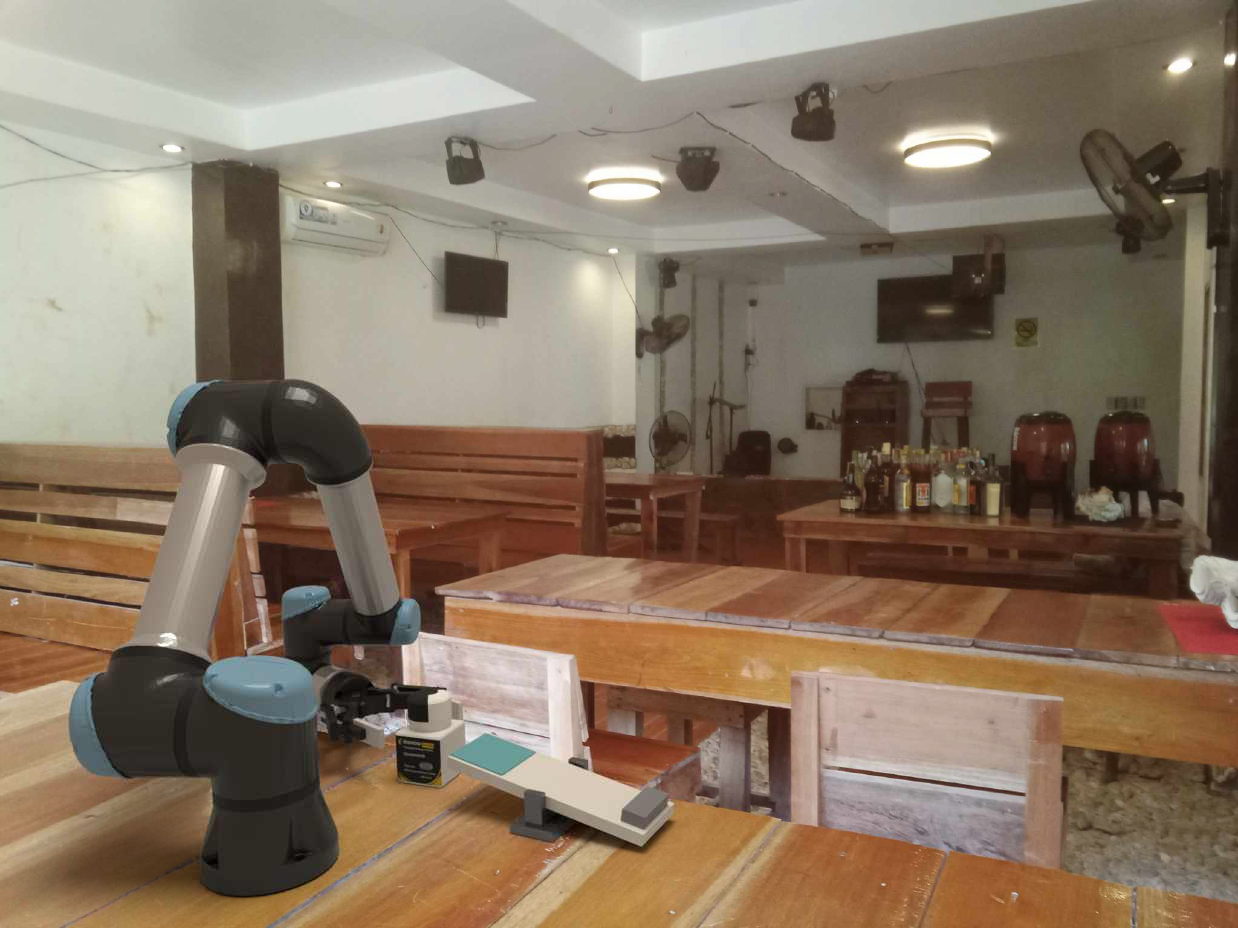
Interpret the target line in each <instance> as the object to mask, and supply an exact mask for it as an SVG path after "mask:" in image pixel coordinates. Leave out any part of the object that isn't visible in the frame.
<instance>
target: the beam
mask: <svg viewBox="0 0 1238 928" xmlns="http://www.w3.org/2000/svg"><path fill="white" fill-rule="evenodd" d="M447 768H449V769H451V770H454V771H456V772H459V774H462V775H464V776H465V777H469V778H471V779H473V780H475V781H476V780H477V781H478V782H481V783H484V784H486V785H489V786H490V787H494V788H496V789H498V790H500V791H503V792H506V793H509V794H511V795H514V796H515V797H519V798H521V799H522V800H524V792H525V791H526V790H528V789H531V790H536V791H541V792H545V797H546V808H547V809H550V810H552V811H555V812H557V813H560V814H562V815H565V816H567V817H570V818H572V819H574V820H577V822H579V823H582V824H584V825H587V826H588V827H589V826H590V827H592V828H595V829H597V830H599V831H602V832H605V833H607V834H609V835H612V836H615V837H617V838H619V839H621V840H623V841H624V840H625V841H627V842H629V843H632V844H634V845H637V846H639V847H643V846H644V845H645V844H646V843H647V842H648V841H649V840H650V838H652V837H653V836H654V835H655V833H656V832H657V831H658V830H660V828H662V826H664V824H665V823H666V822H667V821H668V820H669V819H670V818H672V816H673V815H674V807H675V803H674V802H672V801H669V797H670V793H668V792H666V791H662V790H661V789H660V790H659V789H658V788H656V787H655V788H654V787H653V786H652V787H651V786H649V785H646V786H645V787H644V788H643V789H642V790H641V789H638V788H635V787H632V786H630V785H627V784H624V783H622V782H619V781H616V780H614V779H610V778H609V777H606V776H603V775H601V774H597V773H596V772H593V771H590V770H589V769H588V770H585V769H582V768H580V767H577V766H574V765H572V764H569V763H568V762H566V761H563V760H561V759H559V758H555V757H552V756H550V755H547V754H546V753H542V752H539V751H537V750H534V749H531V748H529V747H527V746H524V745H521V744H519V743H516V742H513V741H510V740H508V739H505V738H503V737H500V736H497V735H495V734H492V733H489V732H485V733H483V734H482V735H480V736H478V737H476V738H474V739H473V740H472V741H470V742H467V743H466V745H465V746H463V747H461V748H460V749H458V750H456V751H455V752H453V753H451V754H450V756H448V760H447Z"/></svg>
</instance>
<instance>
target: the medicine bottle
mask: <svg viewBox="0 0 1238 928" xmlns="http://www.w3.org/2000/svg"><path fill="white" fill-rule="evenodd" d="M451 699H452V694H451V693H450V692H449V690H447V691H446V690H443V689H439V688H426V689H421V690H418V691H416V692H414V693H412V694H411V695H410V696H409V697H408V698H407V706H408V709H407V721H408V724H407V725H406V726H404V727H402V728H401V729H400V730H397V731H396V732H395V752H396V753H395V756H396V775H397V782H399V783H404V784H405V783H406V784H411V785H416V786H417V785H419V786H424V787H431V788H432V787H433V788H440V789H441V788H443V787H444V786H445V785H447V784H448V783H450V782H451V781H452V780H453V779H455V778H456V777H457V776H458V775H459V774H460V773H459V772H456V771H454V770H451V769H449V768H447V760H448V756H450V754H451V753H453V752H455V751H456V750H458V749H460V748H461V747H463V746H465V745H466V744H467V742H466V741H467V740H466V722H465V721H464V719H463V720H454V719H452V703H451Z"/></svg>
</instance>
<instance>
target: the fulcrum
mask: <svg viewBox="0 0 1238 928" xmlns="http://www.w3.org/2000/svg"><path fill="white" fill-rule="evenodd" d="M567 761H568V762H567V763H569V764H572V765H574V766H577V767H580V768H582V769H585V770H588V771H589V759H585V758H580V757H576V756H571V757H570V758H568V760H567ZM523 801H524V812H522V813H521V814H520V815H519V816H517V817H516V818H515V819H514V820H512V821H511V822H509V828H510V829H509V832H510V834H514V835H519V836H522V837H527V838H531V839H536V840H539V841H544V842H550V843H554V842H555V841H556V840H558V839H559V838H560V837H561V836H562V835H564V833H565V832H567V831H568V830H569V829H571V827H572V826H574V825H575V824H576V823H577V822H578V821H577V820H574V819H572V818H570V817H567V816H565V815H562V814H560V813H557V812H555V811H552V810H550V809H547V808H546V797H545V792H541V791H536V790H531V789H528V790H526V791H525V792H524V799H523Z"/></svg>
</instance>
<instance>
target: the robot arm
mask: <svg viewBox="0 0 1238 928" xmlns="http://www.w3.org/2000/svg"><path fill="white" fill-rule="evenodd" d="M166 427H167V429H168V433H167V434H166V441H167V444H168V449H169V450H170V453H171V455H172V456H173V458H174V459H175V461H174V462H175V465H176V467H177V468H178V470H179V471H180V472H181V474H182V476H181V480H180V484H179V487H178V489H177V493H176V495H175V499H174V502H173V505H172V509H171V510H170V511H171V512H170V514H169V518H168V522H167V524H166V525H167V526H166V528H165V531H164V534H163V537H162V541H161V543H160V547H159V550H158V553H157V557H156V560H155V562H154V565H153V569H152V572H151V576H150V578H149V582H148V584H147V587H146V588H147V589H146V591H145V594H144V598H143V601H142V604H141V607H140V610H139V612H138V613H139V614H138V617H137V621H136V623H135V625H134V630H133V633H132V636H131V639H129V640H128V641H126V642H124V643H122V644H120V645H119V646H117V647H115V648H114V649H113V650H112V653H111V656H110V659H109V661H108V664H107V668H106V671H98V672H96V673H93V674H90V675H88V676H87V677H86V678H84V680H82V681H81V682H80V683H79V684H78V686H77V687H76V690H75V691H74V694H73V697H72V700H71V702H70V706H69V707H70V708H69V713H68V734H69V740H70V743H71V745H72V752H73V753H74V755H75V758H76V759H77V761H78V762H79V763H80V765H81V766H82V768H84V769H85V770H86V771H87V772H89V773H90V774H92V775H95V776H99V777H106V778H107V777H110V778H112V777H113V778H121V779H122V780H133V779H136V778H137V779H139V778H142V779H143V778H148V779H149V778H151V779H152V778H153V779H155V778H157V779H158V778H168V779H169V778H171V779H172V778H176V779H179V778H183V779H184V778H185V779H187V778H190V779H191V778H192V779H193V778H194V779H195V778H196V779H197V778H198V779H199V778H201V779H204V778H205V779H210V783H211V795H212V808H211V812H210V816H209V820H208V823H207V828H206V830H205V835H204V838H203V842H202V844H201V848H200V852H199V858H198V860H199V861H198V863H199V876H200V881H201V882H202V884H203V885H204V887H206V888H208V889H209V890H211V891H213V892H215V893H218V894H222V895H228V896H237V897H242V896H243V897H247V896H258V895H259V896H260V895H267V894H272V893H277V892H282V891H286V890H288V889H291V888H294V887H297V886H300V885H302V884H305V883H307V882H309V881H311V880H313V879H315V878H317V877H318V876H320V875H321V874H323V873H324V872H326V871H327V870H328V869H329V868H331V866H332V865H333V864H334V863H335V861H337V859H338V856H339V853H340V839H339V830H338V827H337V825H336V823H335V820H334V817H333V815H332V812H331V811H330V808H329V806H328V804H327V801H326V799H325V796H324V794H323V791H322V789H321V780H320V756H319V755H320V753H319V751H320V750H319V733H318V732H319V731H318V730H319V728H318V727H319V726H318V713H319V715H320V722H321V723H323V724H325V726H326V729H327V730H326V731H327V735H328V739H329V742H337V741H338V740H339V738H340V737H342V738H343V739H342V740H343V744H347V745H349V744H351V743H353V740H355V741H359V742H362V743H365V744H367V745H370V746H372V747H373V748H376V749H379V750H382V749H384V748H386V745H385V728H384V727H381V726H379V725H376V724H373V723H371V722H369V721H366V720H363V719H364V718H365V717H368V716H372V715H378V714H393V713H395V712H396V711H397V710H399V711H400V710H408V706H407V698H408V697H409V696H410V695H411V694H412V693H414V692H416V691H418V690H421V689H426V688H439V689H443V690H446V691H448V688H447V687H441V686H428V685H427V686H426V685H424V686H423V685H411V684H405V683H404V684H402V683H400V682H393V683H391V684H390V688H380V687H379V686H374V684H373V683H372V681H371V680H370V679H369V678H368V677H366V676H365V675H362V674H360V673H356V672H354V671H352V670H349V669H344V668H343V667H342V668H341V667H339V666H336V665H333V647H349V646H352V647H389V648H390V647H396V646H409V645H412V644H414V643H415V642H416V641H417V639H418V637H419V634H420V630H421V623H422V622H421V619H422V618H421V617H422V616H421V614H422V613H421V610H420V605H419V603H418V602H417V601H416V600H415V599H413V598H407V597H403V598H402V597H401V594H400V589H399V585H398V581H397V578H396V574H395V571H394V565H393V562H392V559H391V554H390V550H389V546H388V543H387V538H386V534H385V531H384V526H383V522H382V519H381V514H380V511H379V507H378V502H377V499H376V496H375V490H374V487H373V483H372V480H371V475H370V470H371V469H372V467H373V465H374V459H373V458H374V457H373V453H372V450H371V446H370V442H369V440H368V438H367V436H366V434H365V431H364V429H363V428H362V426H361V424H360V423H359V421H358V420H357V419H356V417H355V416H354V414H353V413H352V412H351V411H350V410H349V408H348V407H347V406H345V404H344V403H343V402H342V401H341V400H340V399H339V398H338V397H337V396H335V395H334V394H332V393H331V392H330V391H328V390H327V389H325V388H323V387H322V386H320V385H318V384H316V383H314V382H311V381H307V380H304V379H299V378H297V379H296V378H285V379H270V380H269V379H266V380H265V379H264V380H263V379H262V380H260V379H259V380H258V379H257V380H232V381H230V380H224V379H213V380H211V381H204V382H197V383H192V384H190V385H188V386H187V387H185V388H184V389H183V390H182V391H180V392H179V393H178V395H177V396H176V398H175V399H174V401H173V403H172V405H171V406H170V409H169V412H168V416H167V420H166ZM291 463H293V464H298V465H299V466H300V467H302V468H303V472H304V475H305V478H306V480H307V481H308V482H309V483H311V484H313V485H315V486H316V489H317V493H318V496H319V499H320V502H321V506H322V509H323V512H324V515H325V519H326V521H327V525H328V528H329V530H330V535H331V538H332V541H333V545H334V549H335V551H336V553H337V558H338V560H339V564H340V567H341V571H342V574H343V576H344V577H343V578H344V581H345V583H346V584H345V585H346V587H347V590H348V594H349V597H350V598H349V599H345V598H344V599H339V598H338V599H335V598H334V599H331V598H332V597H331V594H330V590H329V589H328V588H327V587H326V586H322V585H302V586H297V587H292V588H290V589H289V590H286V591H285V592H284V593H283V595H282V597H281V617H280V620H281V625H282V641H283V653H284V654H283V655H284V657H280V656H275V655H274V656H273V655H258V654H257V655H247V656H232V657H227V658H223V659H220V660H218V661H215V662H214V660H213V659H212V658H211V657H210V654H208V651H209V647H210V643H211V639H212V635H213V632H214V628H215V624H216V620H217V617H218V614H219V613H218V612H219V609H220V606H221V601H222V599H223V598H222V597H223V593H224V591H225V587H226V583H227V579H228V575H229V572H230V567H231V565H232V560H233V557H234V553H235V549H236V546H237V541H238V538H239V534H240V530H241V527H242V523H243V519H244V515H245V512H246V508H247V505H248V504H247V503H248V500H249V497H250V492H251V491H252V490H255V489H258V488H259V487H260V486H262V485H263V484H264V482H265V481H266V477H267V475H268V470H269V467H270V465H274V464H275V465H277V464H291ZM388 699H389V706H388ZM451 703H452V719H454V720H463V721H464V710H463V709H464V707H463V705H464V704H463V701H459V700H457V699H454V698H451ZM338 721H339V722H341V723H339V722H338Z"/></svg>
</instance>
